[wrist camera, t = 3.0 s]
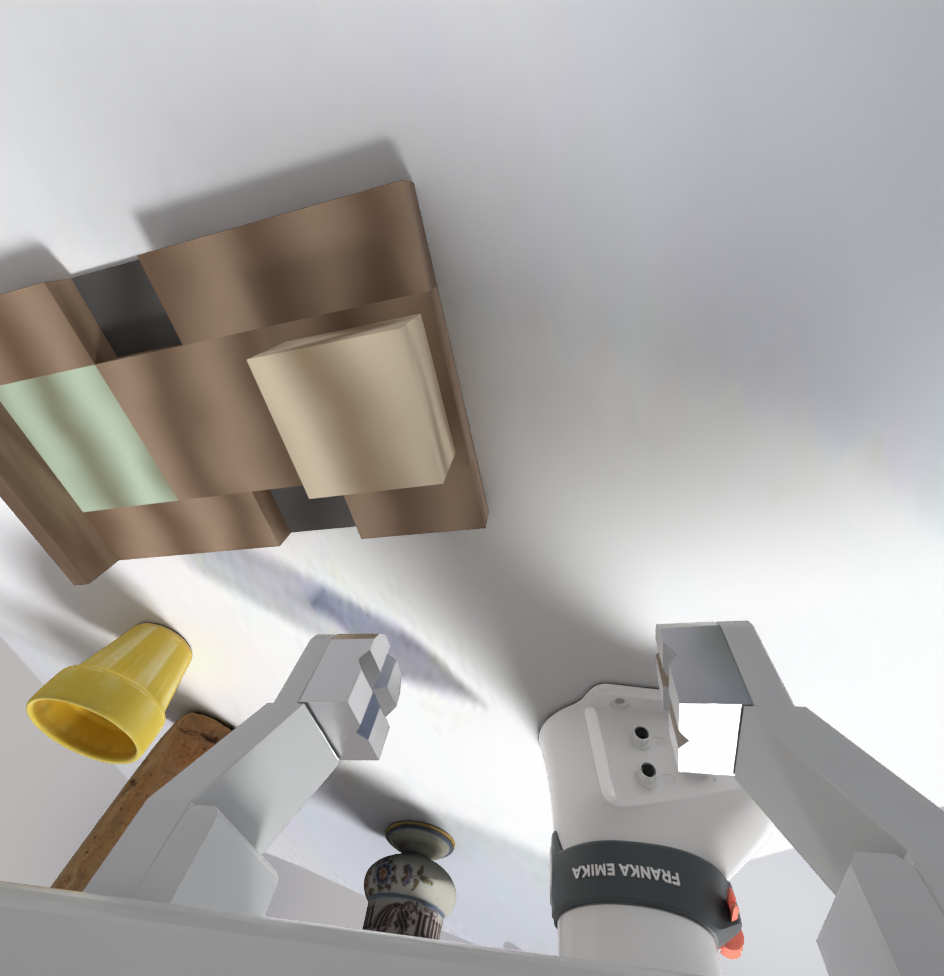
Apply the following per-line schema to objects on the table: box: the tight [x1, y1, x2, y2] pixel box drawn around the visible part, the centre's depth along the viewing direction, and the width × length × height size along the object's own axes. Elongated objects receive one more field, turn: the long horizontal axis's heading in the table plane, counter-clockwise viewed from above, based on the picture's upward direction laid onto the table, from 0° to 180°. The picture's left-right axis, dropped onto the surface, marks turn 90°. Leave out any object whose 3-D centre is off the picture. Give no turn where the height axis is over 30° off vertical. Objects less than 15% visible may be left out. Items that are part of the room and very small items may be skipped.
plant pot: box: [26, 623, 192, 764], centre depth 44 cm, size 10×10×10 cm
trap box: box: [0, 180, 489, 585], centre depth 30 cm, size 34×20×5 cm, turn 102°
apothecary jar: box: [362, 821, 456, 940], centre depth 55 cm, size 12×12×18 cm
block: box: [50, 712, 232, 892], centre depth 47 cm, size 11×8×20 cm
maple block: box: [247, 314, 456, 499], centre depth 26 cm, size 8×8×4 cm
